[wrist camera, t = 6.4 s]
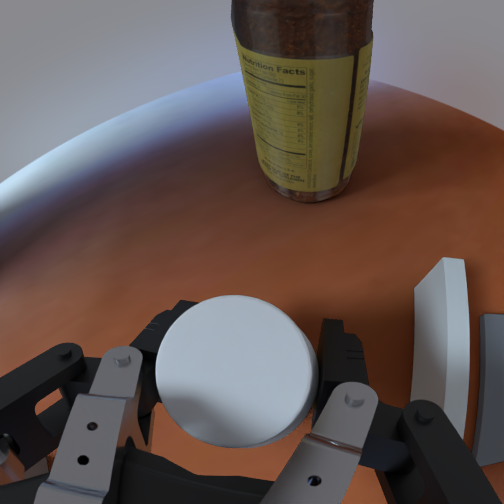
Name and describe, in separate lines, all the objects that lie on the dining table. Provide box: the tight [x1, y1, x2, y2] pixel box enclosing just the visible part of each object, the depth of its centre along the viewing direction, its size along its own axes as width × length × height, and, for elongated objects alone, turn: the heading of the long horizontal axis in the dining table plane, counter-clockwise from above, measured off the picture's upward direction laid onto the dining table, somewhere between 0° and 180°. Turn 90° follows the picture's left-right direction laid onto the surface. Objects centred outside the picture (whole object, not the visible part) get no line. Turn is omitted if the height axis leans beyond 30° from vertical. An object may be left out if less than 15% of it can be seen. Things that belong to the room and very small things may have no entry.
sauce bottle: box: [231, 0, 374, 203], centre depth 11 cm, size 6×6×20 cm
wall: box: [410, 257, 470, 439], centre depth 11 cm, size 1×12×4 cm, turn 170°
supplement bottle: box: [156, 295, 319, 448], centre depth 11 cm, size 5×5×8 cm
